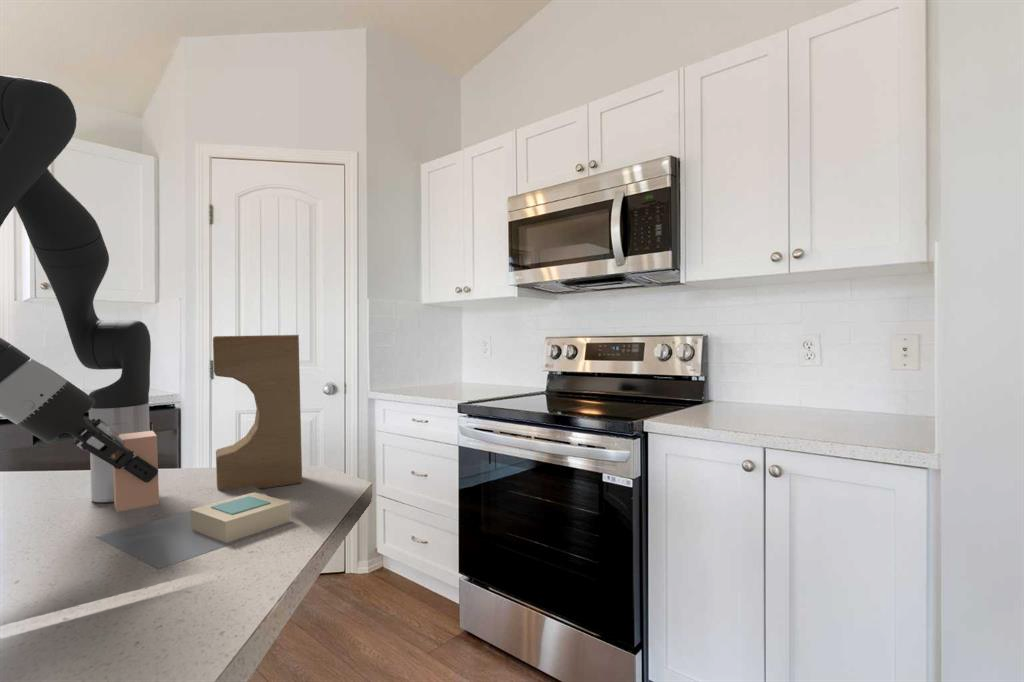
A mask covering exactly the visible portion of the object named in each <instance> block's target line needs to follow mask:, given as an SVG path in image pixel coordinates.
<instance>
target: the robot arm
mask: <svg viewBox="0 0 1024 682" xmlns="http://www.w3.org/2000/svg"><path fill="white" fill-rule="evenodd" d="M74 106H75V105H74V104H73V101H72V100H71V99H70V97H69V95H67V93H66V92H65V91H64V90H63V89H62V88H60V86H59V87H58V85H55V84H53V83H50V82H47V81H44V80H40V79H35V78H29V77H22V76H15V75H8V74H3V73H0V228H1V227H2V226H3V224H4V222H5V220H6V219H7V217H8V216H9V214H10V212H11V211H12V210H13V209H14V208H15V211H16V212H17V214H18V216H19V218H20V220H21V222H22V225H23V227H24V230H25V231H26V234H27V237H28V239H29V242H30V244H31V246H32V247H31V248H33V249H32V250H33V251H34V252H35V256H36V258H37V259H38V263H40V265H41V267H42V270H43V272H44V273H45V276H46V277H47V280H48V283H49V284H50V286H51V289H52V290H53V293H54V296H55V298H56V300H57V302H58V305H59V308H60V311H61V313H62V317H63V319H64V323H65V326H66V328H67V333H68V336H69V338H70V342H71V345H72V347H73V350H74V352H75V355H76V358H77V359H78V360H79V362H80V364H82V366H84V367H85V368H87V369H91V370H121V374H120V376H119V379H117V380H116V381H115V382H112V383H111V384H109V385H107V386H104V387H101V388H98V389H95V390H92V391H91V392H90V393H89V394H88V393H86V392H85V391H83V390H82V389H80V388H79V387H78V386H76V385H75V384H73V383H72V382H70V381H69V380H68V379H66V378H64V377H63V376H61V375H60V374H58V373H57V372H56V371H54V370H53V369H52V368H49V367H48V366H46V365H45V364H43V363H40V362H39V361H36V360H35V359H33V358H31V357H30V356H29V355H28V354H26V353H24V352H23V351H22V350H20V349H19V348H18V347H16V346H14V344H11V343H10V342H8V341H7V340H5V339H3V338H1V337H0V416H1V417H4V418H5V419H7V420H8V421H10V422H12V423H13V424H15V425H16V426H18V427H20V428H21V429H23V430H25V431H26V432H28V433H30V434H31V435H33V436H34V437H36V438H37V439H39V440H41V441H43V442H44V443H46V444H50V443H52V442H55V441H56V440H57V439H59V438H61V437H62V436H63V435H64V434H70V435H71V437H74V438H75V439H74V440H73V441H74V443H73V444H74V445H75V446H76V447H78V448H79V449H81V450H82V451H87V452H89V455H90V456H89V458H90V459H89V460H90V491H91V492H90V493H91V494H90V495H91V499H90V500H91V501H92V502H93V503H114V483H113V466H114V468H116V469H117V468H118V469H125V470H126V471H128V472H130V473H131V474H133V475H134V476H136V477H137V478H139V479H140V480H142V481H144V482H146V483H148V482H150V481H151V480H152V479H153V478H154V477H155V476H156V475H157V474H158V475H159V468H158V469H157V468H155V467H154V466H152V465H151V464H149V463H148V462H146V461H145V460H143V459H142V458H140V457H139V456H138V455H137V454H136V452H134V451H133V452H132V451H131V450H130V449H128V448H127V447H125V446H124V441H123V440H122V439H121V438H120V437H118V436H117V435H120V434H128V433H137V432H145V431H151V429H150V427H151V426H150V425H151V424H150V402H149V401H150V400H149V399H150V396H149V395H150V388H151V387H150V386H151V355H152V354H151V352H152V350H151V348H152V347H151V346H152V345H151V344H152V343H151V335H150V334H151V333H150V331H149V329H148V326H147V325H146V323H144V322H142V321H140V320H135V319H134V320H130V319H128V320H127V319H125V320H124V319H123V320H119V319H118V320H115V319H113V320H109V319H108V320H101V319H100V318H99V317H98V315H97V313H96V310H95V307H94V300H95V297H96V294H97V292H98V289H99V288H100V285H101V283H102V282H103V280H104V278H105V275H106V273H107V271H108V267H109V264H110V254H109V252H108V249H107V246H106V242H105V241H104V238H103V235H102V232H101V229H100V226H99V224H98V222H97V221H96V219H95V218H94V216H93V215H92V214H91V213H90V211H88V209H87V208H86V207H85V206H84V205H83V204H82V203H81V202H80V201H79V200H78V199H77V197H75V196H74V195H73V194H72V193H71V192H70V191H69V190H67V189H66V188H65V187H64V186H63V185H62V184H61V183H60V182H59V181H58V180H57V178H56V177H55V176H54V175H53V174H52V172H51V171H50V169H49V167H50V166H51V165H52V164H53V162H54V161H55V160H56V159H57V158H58V157H59V156H60V154H61V153H62V152H63V150H64V149H66V147H67V146H68V144H69V143H70V142H71V140H72V138H73V136H74V134H75V131H76V128H77V122H78V121H77V120H78V119H77V113H76V112H77V111H76V109H75V107H74ZM87 413H88V417H87V416H86V415H87ZM113 439H114V440H115V442H114V440H113ZM117 450H120V451H121V452H123V454H122V455H121V456H120V457H119V458H118V459H117V460H116V459H115V458H113V455H114V454H115V452H116V451H117Z"/></svg>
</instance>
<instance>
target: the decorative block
mask: <svg viewBox="0 0 1024 682" xmlns="http://www.w3.org/2000/svg"><path fill="white" fill-rule="evenodd" d="M212 352H213V353H212V354H213V355H212V357H213V358H212V359H213V360H212V361H213V373H214V376H216V377H221V378H228V379H229V378H230V379H233V380H236V381H238V382H240V383H242V384H244V385H246V386H247V388H248V389H249V391H250V392H251V393H252V394H253V399H254V402H255V406H256V410H255V416H254V417H255V418H254V423H253V425H252V426H251V428H250V429H249V431H248V432H247V433H246V435H245V436H244V437H242V438H241V439H239V440H238V441H236V442H235V443H233V444H231V445H228V446H224V447H221V448H218V449H216V451H215V463H216V464H215V467H216V468H215V470H216V473H215V475H216V487H217V491H226V490H233V489H239V488H240V489H241V488H246V487H253V486H254V487H256V488H257V489H258V490H264V489H269V488H274V487H275V488H277V487H284V486H289V485H290V486H291V485H296V484H301V483H302V482H303V464H302V463H303V461H302V460H303V458H302V425H301V424H302V422H301V421H302V419H301V385H300V384H301V382H300V381H301V379H300V374H301V373H300V371H301V370H300V337H299V334H271V335H269V334H266V335H265V334H264V335H263V334H262V335H259V334H258V335H217V336H216V335H215V336H213V337H212Z"/></svg>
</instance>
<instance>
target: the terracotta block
mask: <svg viewBox="0 0 1024 682" xmlns="http://www.w3.org/2000/svg"><path fill="white" fill-rule="evenodd" d="M117 436H118V437H120V438H121V439H122V440H123V441H124V446H125V447H127V448H128V449H130V450H131V451H132V452H133V451H134V452H136V454H137V455H138V456H139V457H140V458H142V459H143V460H145V461H146V462H148V463H149V464H151V465H152V466H154V467H155V468H157V469H158V470H159V459H158V457H159V456H158V436H157V434H156V433H155V431H154V430H150V431H145V432H137V433H128V434H120V435H117ZM113 440H114V439H113ZM114 442H115V440H114ZM122 454H123V452H121V451H120V450H117V451H116V452H115V454H114V455H113V458H115V459H116V460H117V459H118V458H119V457H120V456H121V455H122ZM113 483H114V502H113V505H114V507H115V511H116V512H117V513H118V512H122V511H123V512H124V511H129V510H133V509H134V510H135V509H139V508H144V507H149V506H150V507H151V506H154V505H160V493H159V492H160V489H159V488H160V487H159V473H158V474H157V475H156V476H155V477H154V478H153V479H152V480H151V481H150V482H148V483H146V482H144V481H142V480H140V479H139V478H137V477H136V476H134V475H133V474H131V473H130V472H128V471H126V470H125V469H118V468H117V469H116V468H114V466H113Z"/></svg>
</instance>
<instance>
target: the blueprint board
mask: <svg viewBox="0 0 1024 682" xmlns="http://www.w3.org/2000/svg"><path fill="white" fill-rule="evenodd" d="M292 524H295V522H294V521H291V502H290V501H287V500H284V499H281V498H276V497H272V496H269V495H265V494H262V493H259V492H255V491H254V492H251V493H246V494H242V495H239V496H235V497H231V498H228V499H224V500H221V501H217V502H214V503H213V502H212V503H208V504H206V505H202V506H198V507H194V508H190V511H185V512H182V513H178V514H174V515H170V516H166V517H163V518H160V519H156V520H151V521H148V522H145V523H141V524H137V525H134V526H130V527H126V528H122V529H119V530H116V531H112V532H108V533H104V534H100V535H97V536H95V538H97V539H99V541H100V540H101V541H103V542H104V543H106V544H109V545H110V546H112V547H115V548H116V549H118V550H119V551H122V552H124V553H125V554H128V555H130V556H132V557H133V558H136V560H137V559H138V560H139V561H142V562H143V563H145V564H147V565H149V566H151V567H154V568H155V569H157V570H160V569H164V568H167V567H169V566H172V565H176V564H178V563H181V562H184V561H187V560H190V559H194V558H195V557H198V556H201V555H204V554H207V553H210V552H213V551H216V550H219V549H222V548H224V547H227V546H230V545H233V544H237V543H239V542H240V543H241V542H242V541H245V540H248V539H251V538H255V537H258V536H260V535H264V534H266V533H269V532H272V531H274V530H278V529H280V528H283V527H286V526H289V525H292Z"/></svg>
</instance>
